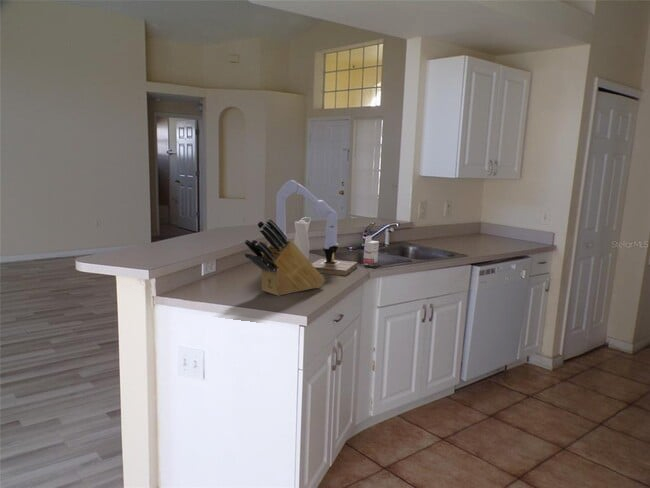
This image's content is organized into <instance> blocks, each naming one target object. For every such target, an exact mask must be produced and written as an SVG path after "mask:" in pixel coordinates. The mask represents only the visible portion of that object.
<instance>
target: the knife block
mask: <svg viewBox="0 0 650 488" xmlns="http://www.w3.org/2000/svg"><path fill="white" fill-rule="evenodd" d="M257 226H258V228H259V229H258V231H259V232H260V233H261V234H262V236H263V237H264V238H265V240H266V241H267V242H268V243H269V244H270V245H269V246H267V245H266V244H265V243H264V242H263V241H257V240H255V239H253V240H252V241H250V240H248V239H245V240H244V241H243V243H244V244H245V245H246V246H247V247H248V248H249V249H250V251H251V252H252V253H254V254H255V255H254V254H251V253H244V256H245V258H246V259H248V260H250V262H252V263H253V264H254V265H256V267H258V268H259V269H260V270H261V291H263V292H265V291H266V292H265V293H269V294H272V295H275V296H276V295H277V297H279V296H282V295H283V296H284V295H288V294H291V293H296V292H302V291H309V290H312V289H318V288H322V287H323V285H324V283H325V282H326V280H325V279H324V277H323V276H322V275H321V273H318V271H317V270H316V269H315V268H314V266H313V265H312V262H310V260H309V258H308V259H307V258H306V257H305V256H304V254H303V253H302V252H301V251H300V249H299V248H298V247H297V246H296V245H295V244H294V240H290V239H288V237H287V235H286V236H285V235H284V233H283V232H282V231H281V230H280V228H279V227H278V226H277V225H276V222H274V221H273V220H272V219H270V218H267V219H266V222H265V223H264V222H263V221H258V223H257Z"/></svg>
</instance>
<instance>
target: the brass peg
mask: <svg viewBox="0 0 650 488" xmlns="http://www.w3.org/2000/svg"><path fill="white" fill-rule="evenodd" d="M334 260H335V257H334V252H333V255H332V260H331V262H327V260H326V264H334Z"/></svg>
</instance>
